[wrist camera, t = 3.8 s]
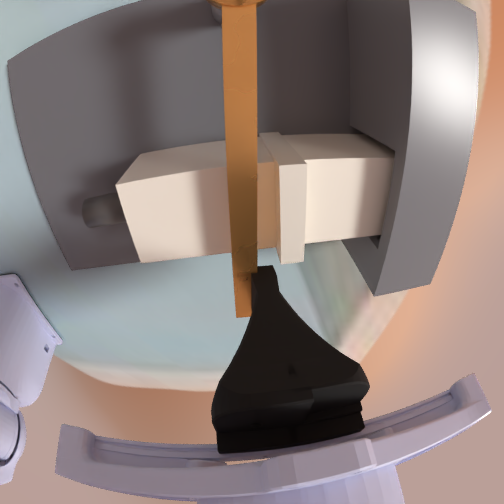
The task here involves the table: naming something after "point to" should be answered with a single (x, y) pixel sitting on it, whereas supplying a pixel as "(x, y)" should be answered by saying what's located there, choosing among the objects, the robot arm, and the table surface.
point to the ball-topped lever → (241, 139)
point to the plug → (268, 196)
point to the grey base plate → (268, 109)
